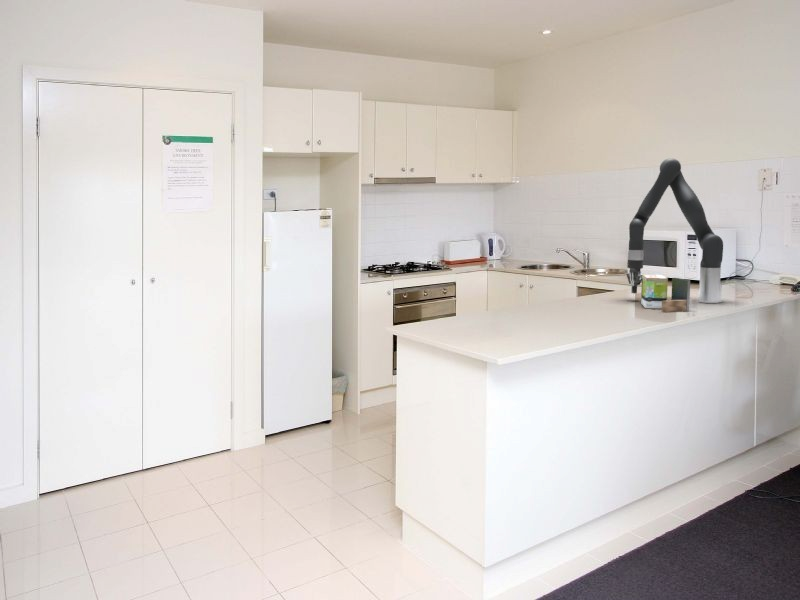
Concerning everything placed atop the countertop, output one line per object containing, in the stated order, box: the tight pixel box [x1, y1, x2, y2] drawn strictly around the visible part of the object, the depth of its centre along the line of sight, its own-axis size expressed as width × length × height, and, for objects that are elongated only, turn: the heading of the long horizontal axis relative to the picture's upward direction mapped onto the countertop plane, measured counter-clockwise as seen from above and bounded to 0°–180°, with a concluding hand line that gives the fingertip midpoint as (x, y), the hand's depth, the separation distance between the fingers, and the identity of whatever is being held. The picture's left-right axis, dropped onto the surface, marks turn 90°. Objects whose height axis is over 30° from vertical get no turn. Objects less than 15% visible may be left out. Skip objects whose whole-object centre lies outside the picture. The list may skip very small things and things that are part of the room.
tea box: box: [640, 274, 669, 309], centre depth 333 cm, size 15×10×15 cm, turn 168°
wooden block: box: [661, 300, 688, 313], centre depth 318 cm, size 12×1×5 cm, turn 99°
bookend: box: [671, 277, 691, 312], centre depth 323 cm, size 1×13×14 cm, turn 9°
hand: (634, 293), depth 351 cm, fingers closed
